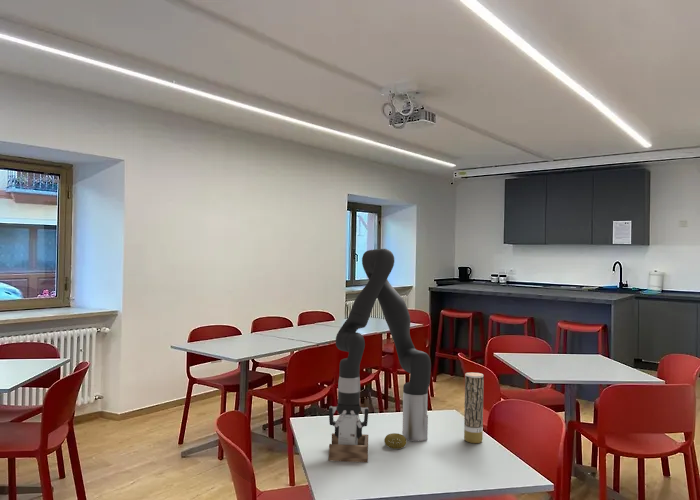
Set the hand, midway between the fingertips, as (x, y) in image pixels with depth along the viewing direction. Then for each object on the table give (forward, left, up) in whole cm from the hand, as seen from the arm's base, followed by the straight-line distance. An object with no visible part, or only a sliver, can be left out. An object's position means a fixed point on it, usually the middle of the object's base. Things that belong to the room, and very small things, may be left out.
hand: (348, 437), depth 181 cm
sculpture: (-17, -10, -6) cm, 21 cm away
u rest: (0, 0, -6) cm, 6 cm away
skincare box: (0, 0, -4) cm, 4 cm away
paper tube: (-46, -19, -6) cm, 50 cm away
